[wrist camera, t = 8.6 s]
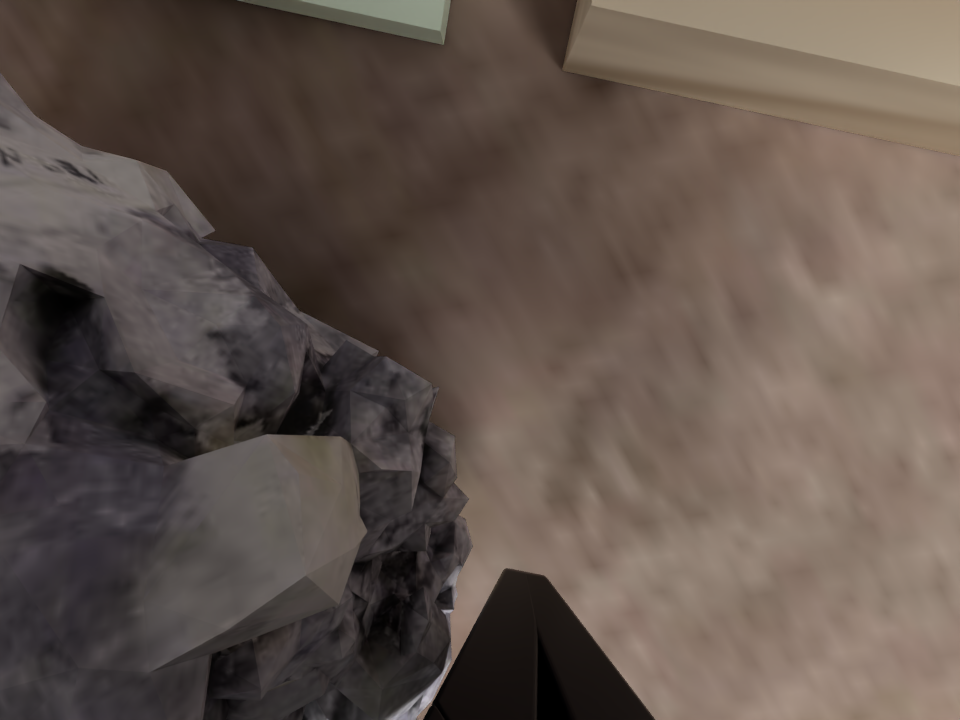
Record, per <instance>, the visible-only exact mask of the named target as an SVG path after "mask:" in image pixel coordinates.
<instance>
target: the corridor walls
mask: <svg viewBox="0 0 960 720" xmlns="http://www.w3.org/2000/svg"><path fill="white" fill-rule="evenodd" d="M562 71H567V72H571V73H576V74H581V75H585V76H590V77H595V78H599V79H604V80H608V81H613V82H618V83H622V84H627V85H632V86H636V87H641V88H646V89H650V90H655V91H660V92H664V93H669V94H674V95H678V96H683V97H687V98H692V99H697V100H701V101H706V102H711V103H715V104H720V105H725V106H729V107H734V108H739V109H743V110H748V111H752V112H757V113H762V114H766V115H771V116H776V117H780V118H785V119H790V120H794V121H799V122H804V123H808V124H813V125H818V126H822V127H827V128H831V129H836V130H841V131H845V132H850V133H855V134H859V135H864V136H869V137H873V138H878V139H883V140H887V141H892V142H896V143H901V144H906V145H910V146H915V147H920V148H924V149H929V150H934V151H938V152H943V153H948V154H952V155H957V156H960V0H577V4H576V8H575V13H574V18H573V22H572V27H571V32H570V36H569V41H568V46H567V50H566V55H565V60H564V64H563V69H562Z"/></svg>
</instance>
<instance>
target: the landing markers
mask: <svg viewBox="0 0 960 720" xmlns="http://www.w3.org/2000/svg"><path fill="white" fill-rule="evenodd" d="M237 1H242V2H246V3H251V4H255V5H260V6H265V7H269V8H274V9H279V10H283V11H288V12H293V13H297V14H302V15H307V16H311V17H316V18H320V19H325V20H330V21H334V22H339V23H344V24H348V25H353V26H358V27H362V28H367V29H372V30H376V31H381V32H386V33H390V34H395V35H399V36H404V37H409V38H413V39H418V40H423V41H427V42H432V43H437V44H441V45H444V41H445V34H446V28H447V22H448V16H449V9H450V3H451V0H237Z"/></svg>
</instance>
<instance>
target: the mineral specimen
mask: <svg viewBox="0 0 960 720" xmlns="http://www.w3.org/2000/svg"><path fill="white" fill-rule="evenodd" d="M214 231H215V229H214V228H213V227H212V226H211V224H210V223H209V222H208V221H207V219H206V218H205V217H204V216H203V215H202V213H201V212H200V211H199V210H198V208H197V207H196V206H195V205H194V204H193V202H192V201H191V200H190V199H189V197H188V196H187V195H186V194H185V193H184V191H183V190H182V189H181V188H180V186H179V185H178V184H177V183H176V182H175V180H174V179H173V178H172V177H171V175H170V174H169V173H168V172H167V171H166V170H163V169H160V168H157V167H155V166H152V165H149V164H146V163H143V162H141V161H138V160H134V159H131V158H127V157H123V156H119V155H115V154H111V153H107V152H103V151H99V150H95V149H91V148H88V147H84V146H81V145H79V144H78V143H76V142H75V141H73V140H72V139H70V138H69V137H67V136H65V135H64V134H62V133H61V132H59V131H58V130H56V129H55V128H53V127H52V126H50V125H49V124H47V123H46V122H44V121H42V120H41V119H39V118H38V117H36V116H35V115H34V114H33V113H32V112H31V110H30V109H29V108H28V107H27V105H26V104H25V103H24V102H23V100H22V99H21V98H20V97H19V95H18V94H17V93H16V92H15V90H14V89H13V88H12V87H11V85H10V84H9V83H8V82H7V80H6V79H5V78H4V77H3V75H2V74H1V73H0V720H417V716H418V715H419V714H420V713H421V712H422V710H423V709H424V708H425V707H426V706H427V705H428V704H429V703H430V702H431V701H432V699H433V697H434V695H435V693H436V691H437V689H438V687H439V685H440V683H441V681H442V678H443V676H444V674H445V672H446V670H447V668H448V666H449V664H450V662H451V660H452V657H451V630H450V613H451V612H452V611H453V610H454V602H455V600H456V597H457V590H456V581H457V576H458V574H459V572H460V571H461V569H462V567H463V565H464V563H465V561H466V559H467V557H468V555H469V553H470V551H471V549H472V547H473V545H472V541H471V538H470V534H469V530H468V527H467V523H466V519H465V518H463V517H461V516H459V514H460V512H461V511H462V509H463V507H464V506H465V504H466V503H467V501H468V500H469V498H468V497H467V496H466V495H465V494H464V493H463V492H462V491H461V490H460V489H459V488H458V487H457V486H456V485H455V484H454V481H455V480H456V478H457V469H456V450H455V436H454V435H452V434H450V433H448V432H447V431H445V430H443V429H442V428H440V427H438V426H436V425H435V424H433V423H431V422H429V419H430V415H431V412H432V409H433V406H434V402H435V399H436V396H437V393H438V390H439V387H436V388H432V383H430V382H428V381H427V380H425V379H423V378H422V377H420V376H418V375H417V374H415V373H413V372H412V371H410V370H408V369H407V368H405V367H403V366H402V365H400V364H398V363H397V362H395V361H393V360H391V359H390V358H388V357H386V356H381V357H377V354H378V352H379V351H378V350H376V349H374V348H372V347H370V346H368V345H366V344H364V343H362V342H360V341H358V340H356V339H354V338H352V337H350V336H348V335H346V334H344V333H342V332H340V331H338V330H336V329H334V328H332V327H331V326H329V325H327V324H325V323H323V322H321V321H319V320H317V319H315V318H313V317H311V316H309V315H307V314H305V313H303V312H301V311H299V310H298V308H297V307H296V306H295V304H294V303H293V302H292V301H291V299H290V298H289V297H288V295H287V294H286V293H285V291H284V290H283V289H282V287H281V286H280V285H279V283H278V282H277V281H276V279H275V278H274V277H273V275H272V274H271V272H270V271H269V270H268V268H267V267H266V265H265V264H264V263H263V261H262V260H261V259H260V257H259V256H258V254H257V253H256V252H255V250H254V249H253V247H247V246H241V245H236V244H230V243H225V242H219V241H214V240H208V239H203V237H204V236H206V235H208V234H210V233H212V232H214Z"/></svg>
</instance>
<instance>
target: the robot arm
mask: <svg viewBox="0 0 960 720" xmlns="http://www.w3.org/2000/svg"><path fill="white" fill-rule="evenodd" d="M423 720H655V719H654V717H653V716H652V715H651V713H650V712H649V711H648V709H647V708H646V707H645V706H644V704H643V703H642V702H641V700H640V699H639V698H638V696H637V695H636V694H635V692H634V691H633V690H632V688H631V687H630V686H629V685H628V683H627V682H626V681H625V679H624V678H623V677H622V675H621V674H620V673H619V671H618V670H617V669H616V668H615V666H614V665H613V664H612V662H611V661H610V660H609V658H608V657H607V656H606V654H605V653H604V652H603V651H602V649H601V648H600V647H599V645H598V644H597V643H596V641H595V640H594V639H593V637H592V636H591V635H590V633H589V632H588V631H587V630H586V628H585V627H584V626H583V624H582V623H581V622H580V620H579V619H578V618H577V616H576V615H575V614H574V613H573V611H572V610H571V609H570V607H569V606H568V605H567V603H566V602H565V601H564V599H563V598H562V597H561V596H560V594H559V593H558V592H557V590H556V589H555V588H554V586H553V585H552V584H551V582H550V581H549V580H548V579H547V578H546V577H545V576H544V575H539V574H534V573H529V572H524V571H519V570H514V569H509V568H506V569H504V570H503V572H502V574H501V576H500V578H499V579H498V581H497V583H496V585H495V587H494V589H493V591H492V593H491V594H490V596H489V598H488V600H487V602H486V604H485V606H484V608H483V609H482V611H481V613H480V615H479V617H478V619H477V621H476V623H475V624H474V626H473V628H472V630H471V632H470V634H469V636H468V638H467V639H466V641H465V643H464V645H463V647H462V649H461V651H460V653H459V654H458V656H457V658H456V660H455V662H454V664H453V666H452V668H451V669H450V671H449V673H448V675H447V677H446V679H445V681H444V683H443V684H442V686H441V688H440V690H439V692H438V694H437V696H436V698H435V699H434V701H433V703H432V706H431V707H430V708H429V710H428V712H427V714H426V715H425V717H424V719H423Z"/></svg>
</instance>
